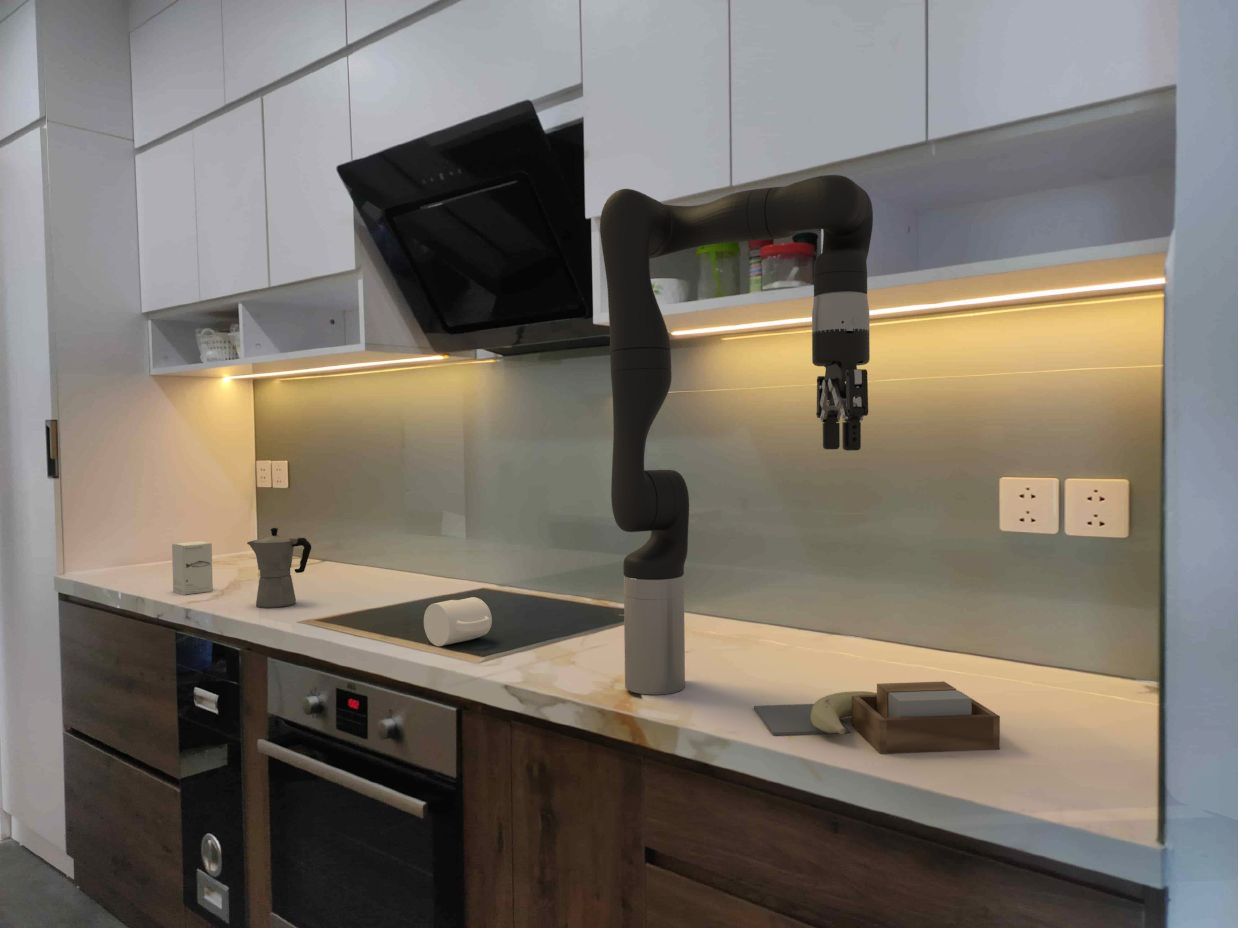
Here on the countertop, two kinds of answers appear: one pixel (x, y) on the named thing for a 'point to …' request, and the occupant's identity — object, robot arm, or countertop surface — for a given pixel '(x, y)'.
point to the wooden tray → (925, 729)
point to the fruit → (834, 711)
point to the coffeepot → (277, 568)
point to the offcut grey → (928, 704)
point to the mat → (790, 719)
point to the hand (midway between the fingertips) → (841, 449)
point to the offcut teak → (905, 687)
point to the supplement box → (192, 567)
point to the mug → (456, 621)
